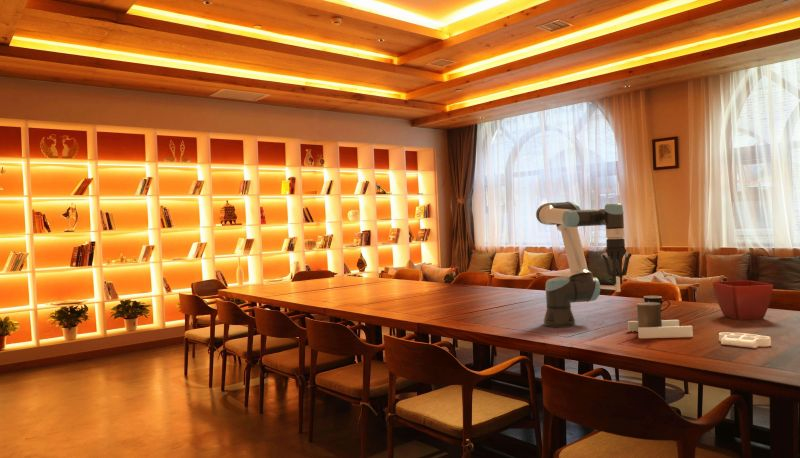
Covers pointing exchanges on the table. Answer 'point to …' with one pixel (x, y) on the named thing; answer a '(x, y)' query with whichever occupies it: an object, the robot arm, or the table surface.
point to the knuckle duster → (744, 340)
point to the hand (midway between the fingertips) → (617, 291)
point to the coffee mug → (655, 300)
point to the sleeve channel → (662, 330)
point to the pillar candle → (649, 314)
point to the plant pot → (743, 298)
